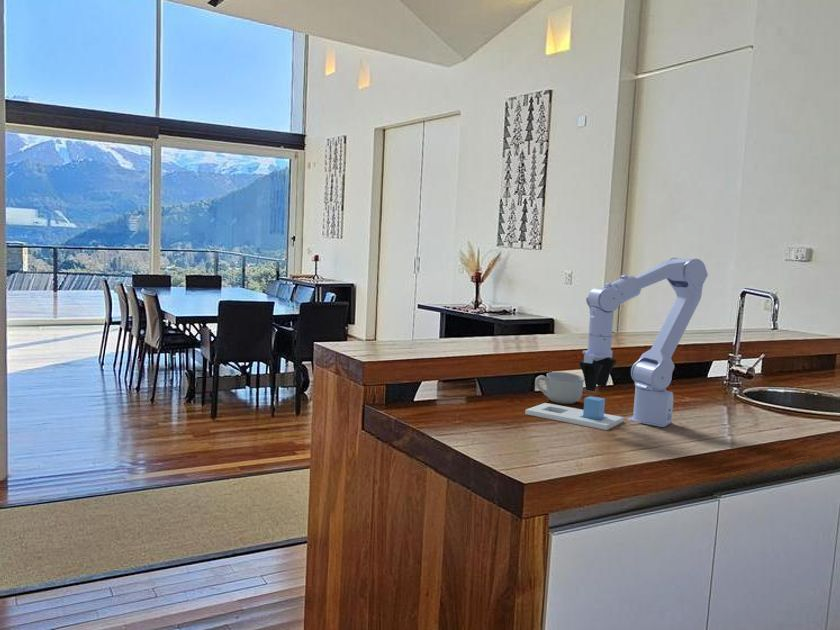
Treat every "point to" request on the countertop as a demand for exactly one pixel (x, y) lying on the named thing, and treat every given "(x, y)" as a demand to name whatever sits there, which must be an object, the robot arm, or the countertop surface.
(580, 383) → the teacup
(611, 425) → the panel
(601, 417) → the plug
